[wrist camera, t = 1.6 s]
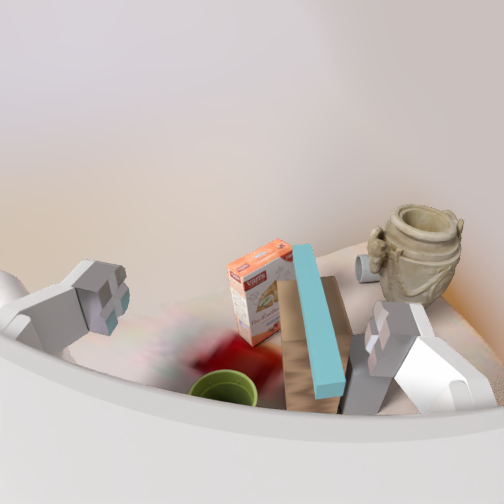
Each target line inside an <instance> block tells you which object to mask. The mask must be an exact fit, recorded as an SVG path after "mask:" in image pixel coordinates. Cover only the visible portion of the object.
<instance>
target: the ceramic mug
mask: <svg viewBox="0 0 504 504" xmlns="http://www.w3.org/2000/svg"><path fill="white" fill-rule="evenodd" d="M355 274H356V279H357V281H358V282H359V283H363V282H373V281H380V280H379V276H378V273H377V274H373V273H371V272H370V269H369V258H368V255H358V256H357V257H356V261H355Z"/></svg>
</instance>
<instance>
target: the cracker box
mask: <svg viewBox="0 0 504 504" xmlns="http://www.w3.org/2000/svg"><path fill="white" fill-rule="evenodd" d="M227 271H228V276H229V281H230V288H231V294H232V299H233V304H234V310H235V315H236V320H237V326H238V331H239V335H240V336H241V337H242V338H244V339H245V340H246V341H247V342H248V343H249V344H250V345H251V346H252V347H254V346H255V345H257V344H258V343H260V342H261V341H263V340H264V339H266V338H267V337H269V336H270V335H272V334H273V333H275V332H276V331H278V330H279V329H281V328H280V314H279V301H278V288H277V281H287V280H296V274H295V269H294V263H293V249H292V246H291V245H289V244H287V243H285V242H283V241H282V240H280V239H276V240H274V241H272V242H270V243H268V244H266V245H265V246H263V247H261V248H259V249H257V250H255V251H253V252H251V253H249V254H247V255H245V256H243V257H242V258H240V259H238V260H236V261H234V262H232V263H230V264H228V265H227Z"/></svg>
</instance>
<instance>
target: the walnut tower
mask: <svg viewBox="0 0 504 504" xmlns="http://www.w3.org/2000/svg"><path fill="white" fill-rule="evenodd" d="M320 279H321V282H322V286H323V290H324V294H325V297H326V301H327V305H328V309H329V313H330V317H331V321H332V325H333V329H334V333H335V337H336V341H337V345H338V350H339V354H340V358H341V362H342V367H343V371H344V376H345V372H346V367H347V362H348V357H349V351H350V345H351V339H352V330H351V326H350V323H349V320H348V316H347V313H346V310H345V307H344V303H343V300H342V297H341V294H340V291H339V288H338V285H337V281H336V278H335V276H328V277H320ZM277 288H278V301H279V314H280V328H281V342H282V357H283V372H284V386H285V398H286V410H289V411H299V412H311V413H326V414H337V410H338V405H339V401H340V396H338V397H331V398H323V399H315V392H314V385H313V378H312V371H311V365H310V358H309V352H308V345H307V339H306V333H305V327H304V321H303V315H302V309H301V303H300V297H299V291H298V286H297V280H287V281H277Z"/></svg>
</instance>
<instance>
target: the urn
mask: <svg viewBox="0 0 504 504" xmlns="http://www.w3.org/2000/svg"><path fill="white" fill-rule="evenodd" d="M463 224H464V221H463V219H459V221H458V220H457V218H456V216H455V215H454V213H453V212H451V211H449V210H442V211H439V210H437V209H434V208H432V207H428V206H425V205H413V204H409V205H408V204H407V205H401V206H399V207H396V208H395V209H394V210H393V211H392V212H391V215H390V220H388V221H387V222H386V223H385V224H384V225H383V226H381V227H379V226H377V227H375V228H374V229H373V230H372V232H371V235H370V238H369V240H368V246H367V250H368V258H369V269H370V272H371V273H373V274H377V273H378V276H379V280H380V284H381V288H382V292H383V294H384V297H385V298H386V300H387V301H390V302H401V303H406V302H408V303H420V304H421V305H423V308H424V309H426V308H427V307H428V306H429V305H431V304H432V303H433V302H434V301H435V300H436V299H437V298H438V297H440V296H441V295H442V294H443V293H444V292H445V290H446V289H447V287H448V286H449V284H450V282H451V280H452V278H453V276H454V273H455V267H456V265H457V264H458V262H459V260H460V254H461V243H460V242H461V233H462V230H463ZM373 318H374V317H373ZM371 319H372V318H371ZM371 319H370V320H371Z"/></svg>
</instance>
